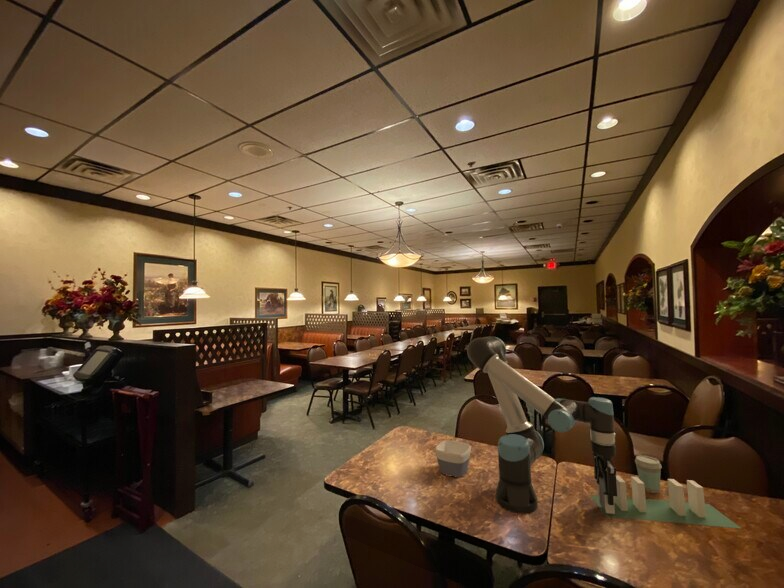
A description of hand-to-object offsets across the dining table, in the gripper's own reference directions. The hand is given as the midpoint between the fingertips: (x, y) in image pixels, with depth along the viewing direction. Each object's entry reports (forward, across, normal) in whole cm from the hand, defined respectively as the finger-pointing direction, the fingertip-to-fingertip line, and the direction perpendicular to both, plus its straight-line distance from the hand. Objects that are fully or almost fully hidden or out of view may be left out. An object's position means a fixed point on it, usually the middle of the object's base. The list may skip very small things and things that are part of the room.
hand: (606, 507), depth 115 cm
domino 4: (+1, +4, -30) cm, 31 cm away
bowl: (+3, +23, +55) cm, 59 cm away
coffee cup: (+2, +19, -23) cm, 30 cm away
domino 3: (+1, +4, -24) cm, 25 cm away
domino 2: (+1, +4, -12) cm, 13 cm away
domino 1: (+1, +4, -6) cm, 8 cm away
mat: (+1, +4, -18) cm, 19 cm away
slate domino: (0, 0, 0) cm, 0 cm away
